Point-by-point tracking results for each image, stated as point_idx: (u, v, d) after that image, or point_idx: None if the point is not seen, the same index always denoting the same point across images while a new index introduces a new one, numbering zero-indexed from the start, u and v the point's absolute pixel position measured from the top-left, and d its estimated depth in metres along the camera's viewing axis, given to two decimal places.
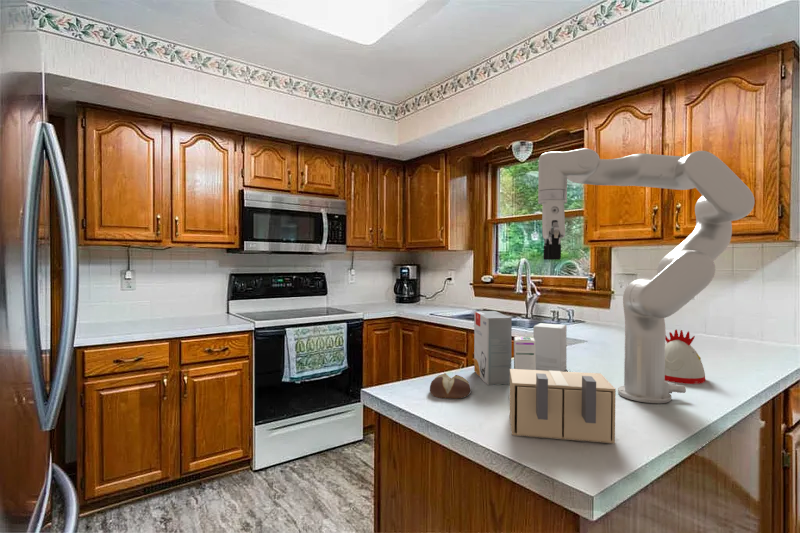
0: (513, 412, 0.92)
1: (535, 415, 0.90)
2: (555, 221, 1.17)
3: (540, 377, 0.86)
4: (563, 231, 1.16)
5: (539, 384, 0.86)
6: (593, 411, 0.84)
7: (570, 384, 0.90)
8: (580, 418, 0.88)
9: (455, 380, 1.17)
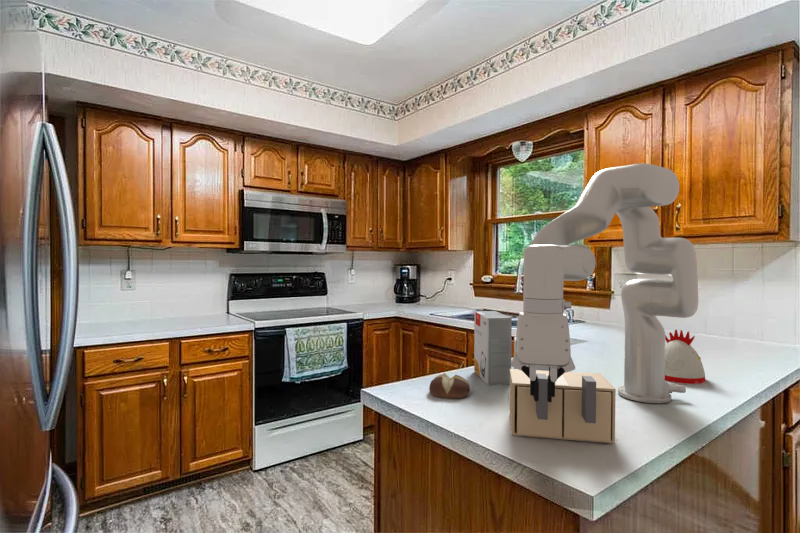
0: (513, 412, 0.92)
1: (535, 415, 0.90)
2: None
3: (540, 377, 0.86)
4: None
5: (539, 384, 0.86)
6: (593, 411, 0.84)
7: (570, 384, 0.90)
8: (580, 418, 0.88)
9: (455, 380, 1.18)
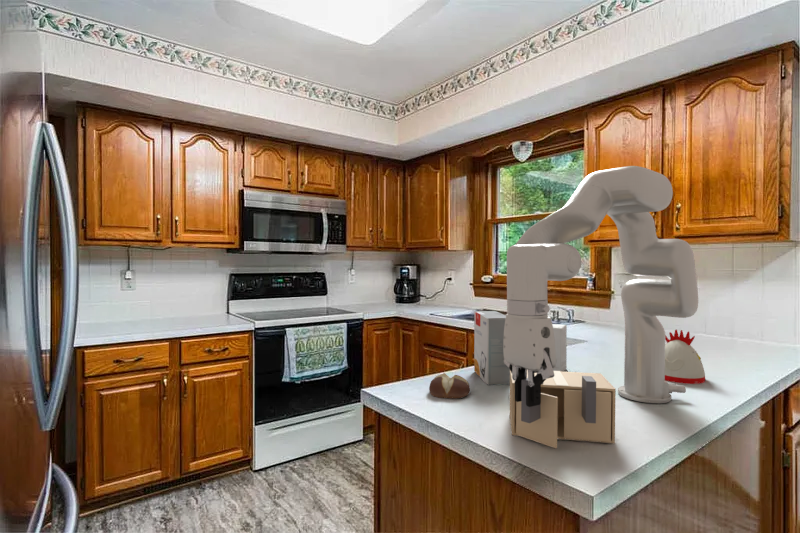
0: (513, 412, 0.92)
1: None
2: (545, 353, 0.81)
3: (526, 379, 0.85)
4: (555, 362, 0.81)
5: (522, 385, 0.85)
6: (593, 411, 0.84)
7: (570, 384, 0.90)
8: (580, 418, 0.88)
9: (454, 380, 1.18)
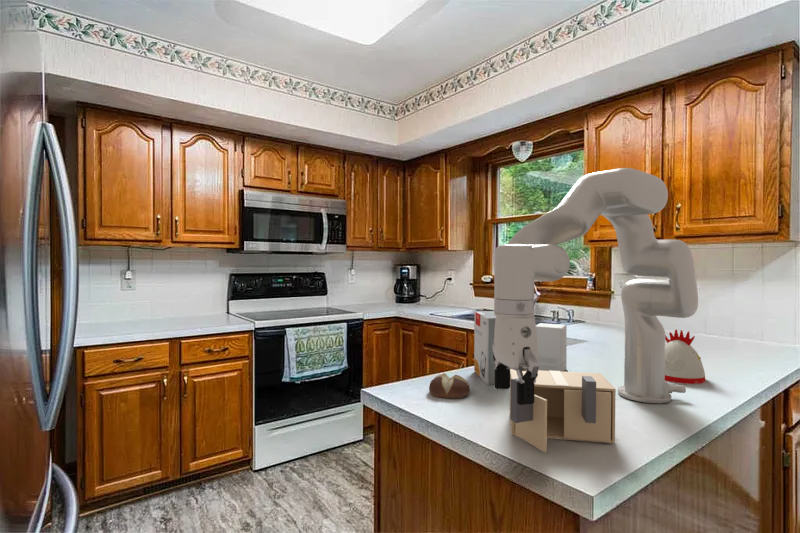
0: None
1: None
2: (527, 348, 0.80)
3: (516, 379, 0.85)
4: None
5: (511, 385, 0.85)
6: (593, 411, 0.84)
7: (570, 384, 0.90)
8: (580, 418, 0.88)
9: (454, 380, 1.18)
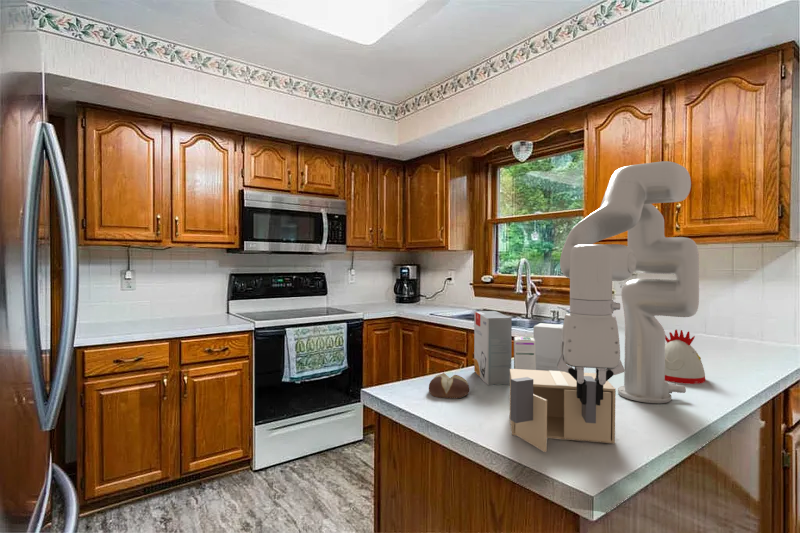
0: None
1: None
2: None
3: (516, 379, 0.85)
4: None
5: (511, 385, 0.85)
6: (593, 411, 0.84)
7: (570, 384, 0.90)
8: (580, 418, 0.88)
9: (454, 380, 1.18)
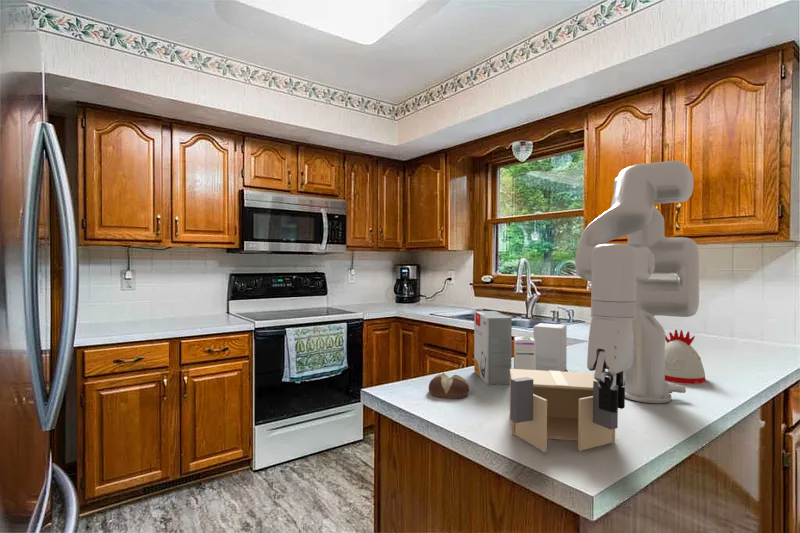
0: None
1: None
2: None
3: (516, 379, 0.85)
4: None
5: (511, 385, 0.85)
6: (616, 416, 0.81)
7: (570, 384, 0.90)
8: (592, 425, 0.84)
9: (454, 380, 1.18)
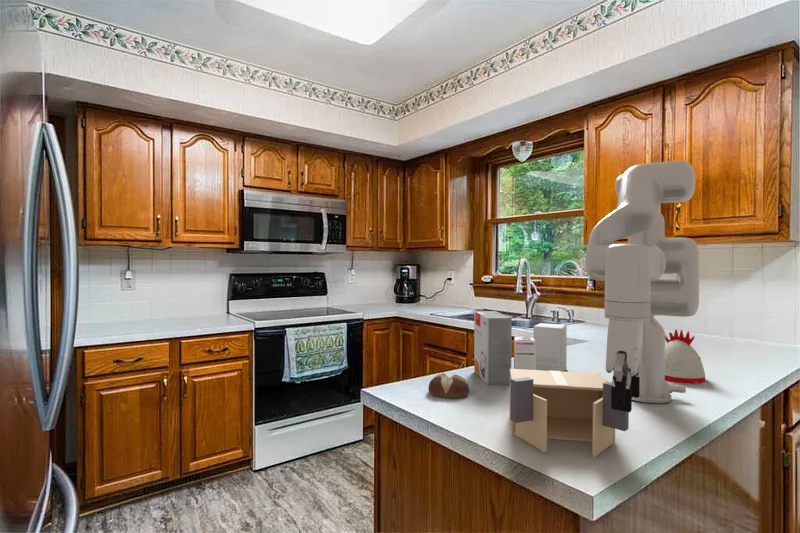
0: None
1: None
2: None
3: (516, 379, 0.85)
4: None
5: (511, 385, 0.85)
6: (627, 417, 0.81)
7: (570, 384, 0.90)
8: (601, 429, 0.83)
9: (453, 380, 1.18)
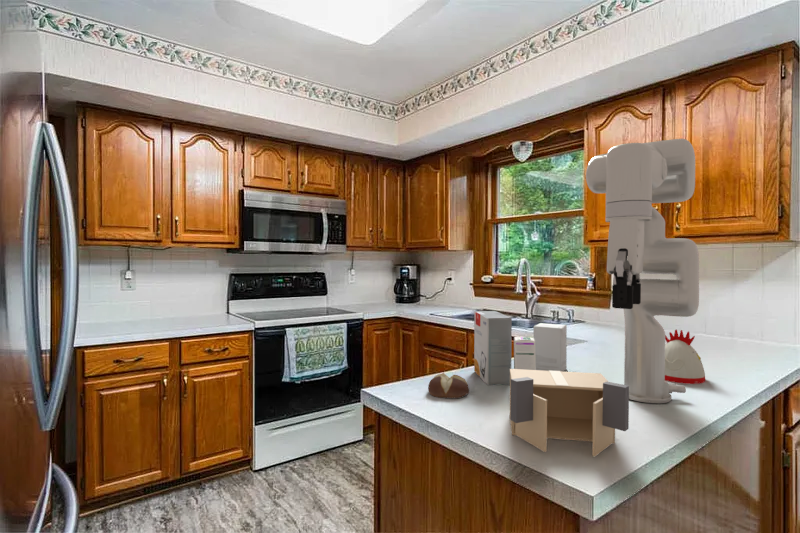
0: None
1: None
2: None
3: (516, 379, 0.85)
4: None
5: (511, 385, 0.85)
6: (627, 417, 0.81)
7: (570, 384, 0.90)
8: (601, 429, 0.83)
9: (453, 380, 1.18)
